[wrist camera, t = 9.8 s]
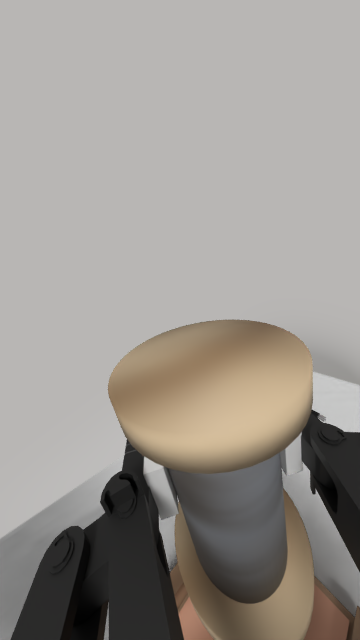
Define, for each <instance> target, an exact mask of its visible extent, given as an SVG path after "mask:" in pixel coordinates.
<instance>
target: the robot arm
mask: <svg viewBox="0 0 360 640" xmlns="http://www.w3.org/2000/svg"><path fill="white" fill-rule="evenodd" d="M280 458H281V467H282V469H283V470H284V472H285V474H286V475H287V476H289V475H292V474H294V473H297V472H300V471H303V463H304V464H305V465H306V466H307V468H308V469H309V470H310V488H311V491H312V494H315V488H316V490H317V492H318V493H319V495H320V497H321V499H322V501H323V503H324V505H325V507H326V509H327V511H328V513H329V514H330V516H331V518H332V520H333V522H334V524H335V526H336V528H337V530H338V532H339V533H340V535H341V537H342V539H343V541H344V543H345V545H346V547H347V549H348V551H349V553H350V554H351V556H352V558H353V560H354V562H355V564H356V566H357V568H358V570H359V572H360V432H344V431H343V430H341V429H339V428H337V427H336V426H333V425H330V424H327V423H323V422H321V421H320V420H319V419H318V418H316V417H315V416H314V415H313V414H312V413H311V414H310V417H309V419H308V422H307V424H306V426H305V427H304V429H303V430H302V432H301V433H300V434H299V436H298V437H297V438H296V439H295V440H294V441H293V442H292V443H291V444H290V445H289V446H288V447H287V448H286V449H284V450H283V451H281V452H280ZM302 461H303V463H302ZM100 503H101V505H102V506H103V508H104V510H105V512H106V513H105V514H103V515H102V516H101V517H100V518H99V519H97V520H96V521H95V522H93V523H92V524H91V525H89V526H88V527H87V528H85V529H84V530H83V529H82V528H80V527H79V526H71V527H69V528H68V529H66V530H64V531H63V532H62V533H61V534H59V535H58V536H57V537H56V538H55V539H54V541H53V542H52V544H51V545H50V546H49V548H48V549H47V551H46V553H45V555H44V557H43V559H42V561H41V563H40V565H39V568H38V570H37V573H36V575H35V578H34V581H33V583H32V586H31V588H30V591H29V594H28V596H27V599H26V601H25V604H24V606H23V609H22V612H21V614H20V617H19V619H18V622H17V625H16V627H15V630H14V632H13V635H12V637H11V640H104V632H105V625H106V617H107V609H108V602H109V640H184V637H183V632H182V628H181V623H180V618H179V614H178V609H177V605H176V600H175V595H174V591H173V586H172V582H171V577H170V572H169V568H168V563H167V559H166V554H165V550H164V545H163V540H162V536H161V533H160V531H159V515H160V518H161V520H163V519H165V518H168V517H171V516H174V515H177V514H179V510H178V500H177V493H176V490H175V487H174V484H173V481H172V478H171V475H170V472H169V469H168V468H167V467H164V466H162V465H159V464H157V463H154V462H153V461H151V460H149V459H148V458H146V457H144V456H143V455H142V454H140V453H139V452H138V451H137V450H136V449H135V448H134V447H133V446H132V445H131V444H130V442H129V441H128V440H127V443H126V449H125V455H124V461H123V467H122V471H120V472H118V473H117V474H115V475H114V476H113V477H112V478H111V479H110V480H109V482H108V483H107V484H106V486H105V488H104V490H103V492H102V496H101V501H100Z"/></svg>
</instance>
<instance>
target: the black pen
mask: <svg viewBox="0 0 360 640" xmlns="http://www.w3.org/2000/svg"><path fill="white" fill-rule="evenodd" d="M311 413H312V414H313V415H314V416H315V417H316V418H319V419H321V420H322V419H323V420H322V421H324V420H326V419H325V418H326V417H324V416H322V415H320V414H319V413H317V412H315V411H313V410H311Z"/></svg>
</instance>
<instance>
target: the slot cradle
mask: <svg viewBox="0 0 360 640" xmlns="http://www.w3.org/2000/svg"><path fill="white" fill-rule="evenodd" d="M170 577H171V582H172V586H173V591H174V595H175V600H176V605H177V609H178V614H179V618H180V623H181V628H182V632H183V637H184V640H214V639H213V638H212V637H211V635H210V634H209V632H208V631H207V630H206V628H205V627H204V625H203V624H202V622H201V620H200V619H199V617H198V615H197V613H196V611H195V609H194V607H193V604H192V602H191V600H190V597H189V595H188V592H187V590H186V587H185V585H184V582H183V579H182V576H181V573H180V569H179V565H178V562H177V564H176V565H175V567H174V568H173V570H172V571H171V572H170ZM303 640H360V608H359V607H358V606H357V610H356V616H355V617H354V616H353V615H352V614H351V613H350V612H349V611H348V610H347V609H346V608H345V607H344V606H343V605H342V604H341V603H340V602H339V601H338V600H337V599H336V598H335V597H334V596H333V595H332V594H331V593H330V592H329V590H328V589H327V588H326V587H325V586H324V585H323V584H322V583H321V582H320V581H319V580H318V579H317V578H316V577H315V576H314V603H313V611H312V616H311V622H310V625H309V628H308V630H307V633H306V636H305V638H304V639H303Z"/></svg>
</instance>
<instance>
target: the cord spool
mask: <svg viewBox="0 0 360 640" xmlns="http://www.w3.org/2000/svg"><path fill="white" fill-rule="evenodd" d="M108 393H109V398H110V400H111V403H112V405H113V407H114V410H115V413H116V415H117V418H118V420H119V423H120V425H121V428H122V430H123V432H124V434H125V437H126V438H127V440H128V441H129V442H130V444H131V445H132V446H133V447H134V448H135V449H136V450H137V451H138V452H139V453H140V454H142V455H143V456H144V457H146V458H148V459H149V460H151V461H153V462H154V463H157V464H159V465H162V466H164V467H167V468H168V469H169V472H170V475H171V478H172V481H173V484H174V487H175V490H176V493H177V496H178V499H179V503H178V510H179V514H177V515H176V519H175V547H176V555H177V560H178V565H179V569H180V573H181V576H182V579H183V582H184V585H185V587H186V590H187V592H188V595H189V597H190V600H191V602H192V604H193V607H194V609H195V611H196V613H197V615H198V617H199V619H200V620H201V622H202V624H203V625H204V627H205V628H206V630H207V631H208V632H209V634H210V635H211V637H212V638H213V639H214V640H303V639H304V638H305V636H306V633H307V630H308V628H309V625H310V622H311V616H312V611H313V603H314V566H313V558H312V551H311V547H310V543H309V539H308V535H307V532H306V529H305V526H304V523H303V521H302V519H301V517H300V514H299V512H298V510H297V509H296V507H295V505H294V503H293V501H292V500H291V498H290V497H289V495H288V494H287V492H286V491H285V490H284V489H283V483H282V470H281V458H280V452H281V451H283V450H284V449H286V448H287V447H288V446H289V445H290V444H291V443H292V442H293V441H294V440H295V439H296V438H297V437H298V436H299V434H300V433H301V432H302V430H303V429H304V427H305V426H306V424H307V422H308V419H309V417H310V414H311V409H312V403H313V377H312V357H311V354H310V352H309V350H308V348H307V347H306V345H305V344H304V343H303V342H302V341H301V340H300V339H299V338H298V337H297V336H295V335H294V334H292V333H290V332H288V331H286V330H284V329H282V328H280V327H277V326H274V325H270V324H267V323H262V322H256V321H249V320H248V321H247V320H216V321H207V322H200V323H195V324H191V325H186V326H182V327H179V328H176V329H173V330H170V331H167V332H164V333H162V334H160V335H157V336H155V337H153V338H151V339H149V340H147V341H145V342H143V343H142V344H140V345H139V346H137V347H136V348H134V349H133V350H132V351H130V352H129V353H128V354H127V355H126V356H125V357H124V358H123V359H122V360H121V361H120V362H119V363H118V364H117V366H116V367H115V368H114V370H113V372H112V374H111V376H110V379H109V384H108Z"/></svg>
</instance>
